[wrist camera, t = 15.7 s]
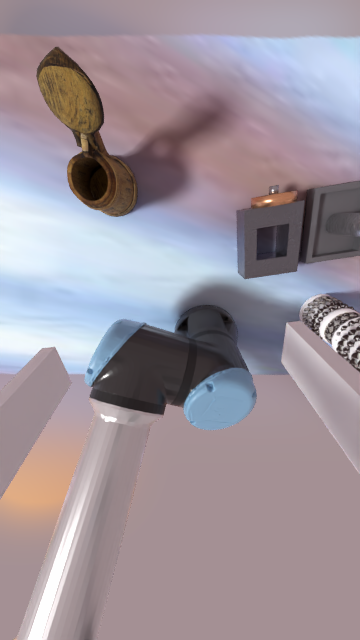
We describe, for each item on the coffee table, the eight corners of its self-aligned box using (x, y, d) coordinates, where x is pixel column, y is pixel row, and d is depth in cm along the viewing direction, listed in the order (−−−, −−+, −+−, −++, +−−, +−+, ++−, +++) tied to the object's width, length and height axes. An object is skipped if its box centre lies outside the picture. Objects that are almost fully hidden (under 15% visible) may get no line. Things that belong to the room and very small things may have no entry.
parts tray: (353, 252, 44) (362, 255, 41) (299, 261, 44) (306, 263, 42) (369, 179, 38) (381, 177, 35) (307, 189, 38) (315, 188, 36)
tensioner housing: (284, 265, 45) (305, 275, 37) (237, 272, 45) (249, 283, 38) (291, 184, 38) (318, 177, 31) (236, 193, 38) (249, 189, 31)
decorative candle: (308, 288, 47) (427, 356, 25) (345, 296, 48) (491, 368, 26) (290, 323, 51) (378, 408, 29) (324, 330, 52) (435, 417, 30)
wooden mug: (140, 129, 34) (109, 54, 18) (136, 220, 40) (109, 224, 24) (84, 118, 33) (0, 30, 17) (89, 212, 39) (29, 211, 23)
